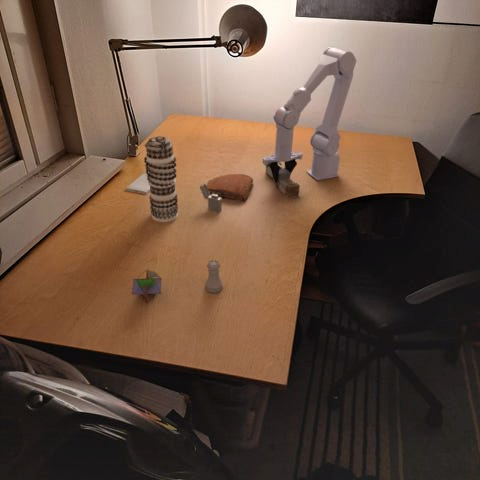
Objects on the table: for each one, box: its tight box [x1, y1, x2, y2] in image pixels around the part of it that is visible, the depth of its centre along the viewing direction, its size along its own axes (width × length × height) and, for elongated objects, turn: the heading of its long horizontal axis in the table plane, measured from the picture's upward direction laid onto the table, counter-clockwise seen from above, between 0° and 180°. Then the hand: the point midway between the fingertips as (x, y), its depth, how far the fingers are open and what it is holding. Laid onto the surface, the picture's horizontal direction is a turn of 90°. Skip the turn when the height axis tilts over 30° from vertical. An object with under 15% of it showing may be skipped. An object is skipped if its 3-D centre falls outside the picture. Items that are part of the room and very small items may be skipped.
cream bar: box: [265, 155, 283, 179], centre depth 163 cm, size 2×10×6 cm, turn 23°
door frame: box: [278, 162, 300, 199], centre depth 160 cm, size 4×22×6 cm, turn 23°
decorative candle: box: [143, 136, 179, 223], centre depth 135 cm, size 9×9×25 cm
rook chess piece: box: [204, 259, 224, 294], centre depth 110 cm, size 4×4×8 cm
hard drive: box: [125, 172, 150, 195], centre depth 159 cm, size 2×8×12 cm
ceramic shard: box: [206, 173, 254, 203], centre depth 156 cm, size 15×6×15 cm
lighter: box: [199, 183, 222, 213], centre depth 144 cm, size 7×2×8 cm, turn 64°
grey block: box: [273, 167, 291, 188], centre depth 158 cm, size 4×4×5 cm
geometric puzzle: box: [131, 269, 162, 303], centre depth 108 cm, size 7×7×8 cm
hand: (281, 180), depth 160 cm, fingers closed on grey block, 4 cm apart
